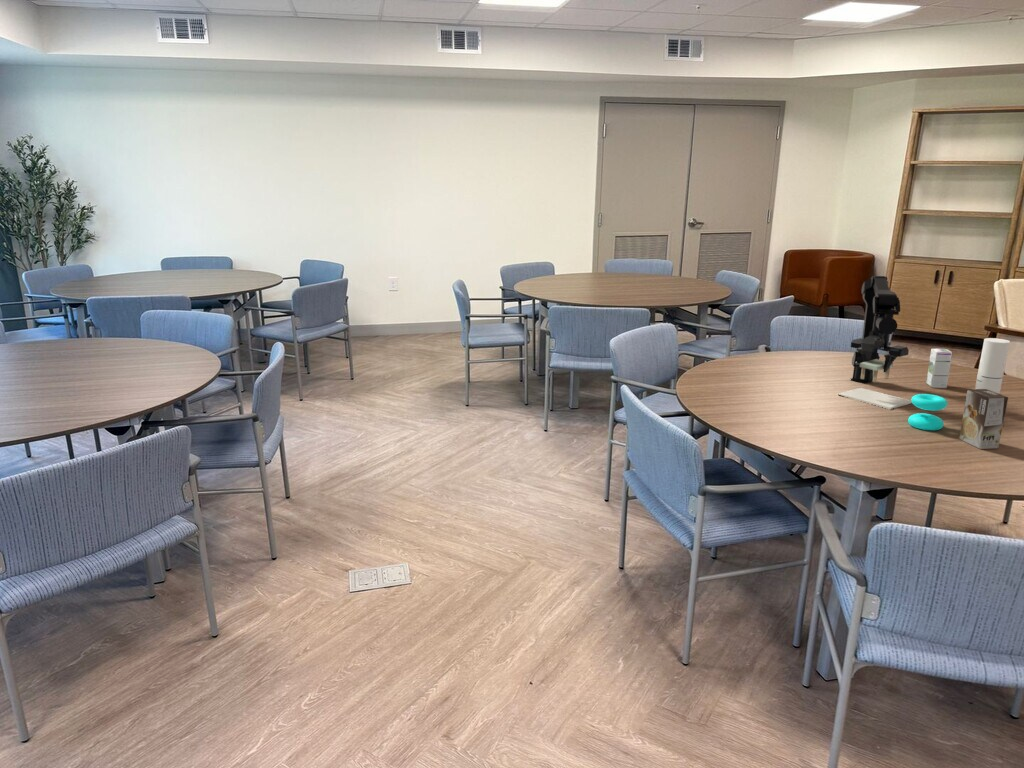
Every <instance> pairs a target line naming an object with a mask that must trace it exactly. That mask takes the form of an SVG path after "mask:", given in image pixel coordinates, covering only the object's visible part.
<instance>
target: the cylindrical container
mask: <svg viewBox="0 0 1024 768" xmlns="http://www.w3.org/2000/svg"><path fill="white" fill-rule="evenodd" d="M1010 344H1011V341H1010V340H1008V339H1004V338H996V337H994V338H993V337H986V338H984V339H983V344H982V349H981V354H980V359H979V365H978V370H977V371H978V372H977V376H976V382H975V387H974V389H987V390H990V391H993V392H995V393H998V394H1000V393H1001V388H1002V385H1003V378H1004V374H1005V368H1006V363H1007V359H1008V354H1009V349H1010Z"/></svg>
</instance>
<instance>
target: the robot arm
mask: <svg viewBox="0 0 1024 768" xmlns="http://www.w3.org/2000/svg"><path fill="white" fill-rule="evenodd" d="M861 294H862V300H863V301H864V303H865V313H864V320H863V328H862V337H859V338H855V339H853V340H851V342H850V345H849V346H850V348H853V349H855V351H854V353H853V356H852V359H851V365H852V367H853V373H852V377H851V378H850V379H851V380H850V381H853V380H855V381H854V382H857V381H858V382H857V383H861V382H862V384H868V383H873V382H872V381H873V370H871V369H865V376H864V379H860V378H861V371H862V367H860V363H862V362H866V361H870V360H875V359H878V360H881V356H880V354H879V352H878V351H883V352H887V354H884V355H883V356H884V361H885V364H884V369H883V373H886V371H887V370H888V369H889V367H890V366H891V364H892V363H893V364H894V361H895V360H896V359H897V358H900V357H905V356H908V355H909V351H910V350H909V348H908V347H907V346H903V345H894V346H891V344H892V343H891V342H890V337H891V335H893V333H895V332H896V330H897V329H898V323H897V321H896V320H895V319H894V316H895V315H896V316H897V315H898V316H899V314H900V312H901V300H900V298H899V296H898V295H897V294H896V292H895V291H892V290H891V289H890V287H889V281H888V277H887V276H885V275H873V276H871V278H869V279H867V280H865V281H863V283H862V286H861ZM890 368H891V367H890Z"/></svg>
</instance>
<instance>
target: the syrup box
mask: <svg viewBox="0 0 1024 768" xmlns="http://www.w3.org/2000/svg"><path fill="white" fill-rule="evenodd" d="M952 356H953V352H952V351H951V350H950V349H947V348H931V350H930V355H929V360H928V367H927V368H928V369H927V375H926V381H925V384H926V385H928V387H930V388H934V389H947V388H948V382H949V377H950V371H951V370H950V369H951V363H952Z"/></svg>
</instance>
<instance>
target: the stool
mask: <svg viewBox="0 0 1024 768" xmlns="http://www.w3.org/2000/svg"><path fill="white" fill-rule="evenodd" d="M884 364H885V360H882V359H879V360H878V359H875V360H870V361H866V362H862V363H860V367H862V371H861V378H860V379H864V376H865V369H871V370H873V381H872V382H871V383H877V377H878V373H879V372H878V371H881V370H884ZM892 367H894V362H893V363H892V364H891V366H890V367H889V369H888V370H887V371H886V372H884V379H886V380H888V379H889V376H890V369H891V368H892Z"/></svg>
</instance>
